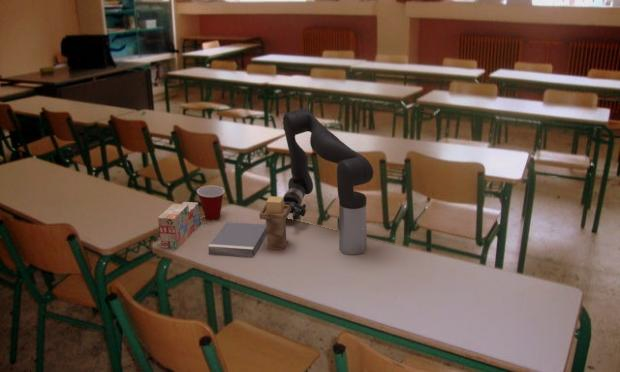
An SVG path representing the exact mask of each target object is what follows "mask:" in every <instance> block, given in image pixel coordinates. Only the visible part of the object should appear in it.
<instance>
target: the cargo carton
mask: <svg viewBox="0 0 620 372" xmlns="http://www.w3.org/2000/svg"><path fill="white" fill-rule="evenodd" d="M265 203H266V204H265V205H266V209H267V214H281V215H282V213H283V211H284V196H272V195H271V196H269V197H268V198H267V200H266V201H265Z"/></svg>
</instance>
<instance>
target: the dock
mask: <svg viewBox="0 0 620 372" xmlns="http://www.w3.org/2000/svg"><path fill="white" fill-rule="evenodd" d="M266 237H267V229H266V224H264V223H261V224H259V223H246V222H233V221H232V222H229V221H226V222H225V224H224V225H223V226H222V228H221V229H220V231H219V232H218V233H217V234H216V236H215V237H214V238H213V239H212V241H211V242H210V243H209V244H208V245H207V246H208V255H217V256H230V257H242V258H244V257H245V258H254V257H255V255H256V254H257V252H258V250H259V248H260V247H261V245H262V243H263V241H264V240H265V238H266Z"/></svg>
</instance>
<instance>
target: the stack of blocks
mask: <svg viewBox="0 0 620 372" xmlns="http://www.w3.org/2000/svg"><path fill="white" fill-rule="evenodd" d="M157 222H158V229H159V235H160V244H161V247H162V246H163V247H167V248H166V249H170V248H174V250H179V248H180V247H181V246H183V245H184V243H185V242H186V241H187V240H188V239H189V237H191V236H192V234H193V233H194V232H195V231H196V230H197V229H198V228H199V227H200V225H201V224H202V223H201V212H200V207H199V202H194V201H193V202H192V201H183V202H182V203H179V204H178V203H172V204H171V205H170V206H169V207H168V208H167V209H165V211H164V212H162V213H161V214H159V216H158V217H157Z"/></svg>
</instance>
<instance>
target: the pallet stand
mask: <svg viewBox="0 0 620 372" xmlns="http://www.w3.org/2000/svg"><path fill="white" fill-rule="evenodd" d="M290 211H291V205H284V211H283V213H282V215H281V214H267V209H266V204H265V205H264V206H263V208H262V209H261V211H260V212H259V220H265V225H266V229H267V234H266V246H267V249H270V250H271V249H273V250H284V248H285V246H286V244H287V223H286V221H287V219H288V217H289V214H291V213H290Z"/></svg>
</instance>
